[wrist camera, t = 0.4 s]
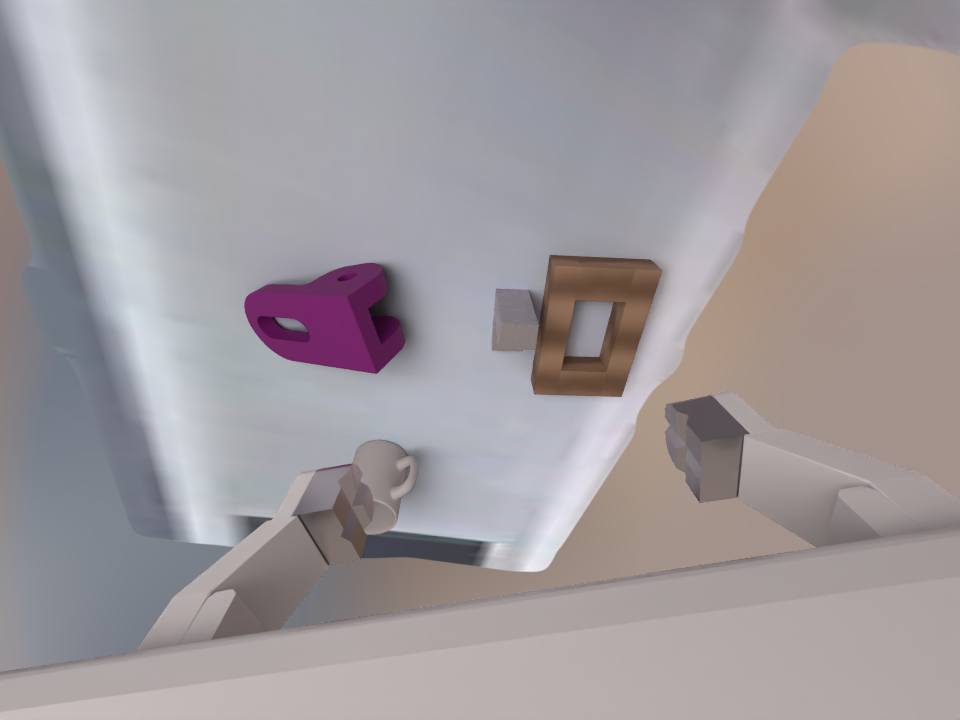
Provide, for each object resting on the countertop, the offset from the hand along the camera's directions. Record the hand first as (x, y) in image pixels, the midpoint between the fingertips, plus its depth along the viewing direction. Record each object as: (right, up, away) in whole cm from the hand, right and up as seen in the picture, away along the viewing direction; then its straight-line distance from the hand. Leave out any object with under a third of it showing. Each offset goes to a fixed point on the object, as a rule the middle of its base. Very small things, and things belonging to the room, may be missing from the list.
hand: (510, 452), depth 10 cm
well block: (+13, +7, +41) cm, 44 cm away
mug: (-15, -13, +54) cm, 58 cm away
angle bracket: (+3, +8, +40) cm, 41 cm away
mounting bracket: (-20, +9, +39) cm, 45 cm away
